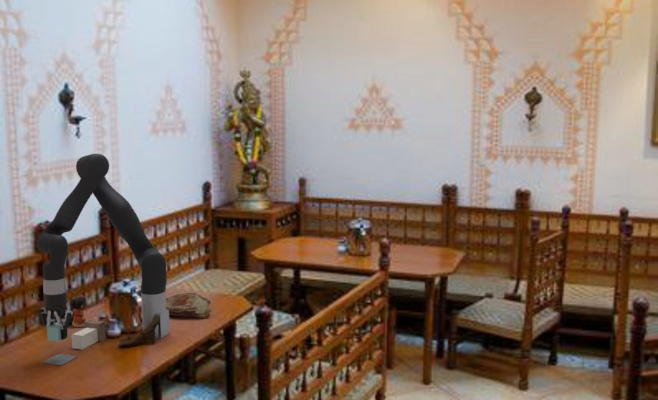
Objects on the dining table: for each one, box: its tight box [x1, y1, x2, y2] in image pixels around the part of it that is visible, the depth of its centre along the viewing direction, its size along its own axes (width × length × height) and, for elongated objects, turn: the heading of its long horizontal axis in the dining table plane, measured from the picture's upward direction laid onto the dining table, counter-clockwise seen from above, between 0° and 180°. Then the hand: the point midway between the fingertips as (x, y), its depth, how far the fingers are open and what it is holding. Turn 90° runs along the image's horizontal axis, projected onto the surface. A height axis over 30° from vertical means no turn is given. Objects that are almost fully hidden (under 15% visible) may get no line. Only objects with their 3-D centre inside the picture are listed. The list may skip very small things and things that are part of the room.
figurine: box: [69, 295, 87, 328], centre depth 287 cm, size 6×6×12 cm
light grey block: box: [70, 319, 107, 350], centre depth 268 cm, size 7×12×7 cm, turn 161°
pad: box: [42, 353, 78, 366], centre depth 252 cm, size 8×8×1 cm
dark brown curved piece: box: [117, 316, 160, 348], centre depth 267 cm, size 8×10×15 cm
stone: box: [166, 292, 211, 319], centre depth 303 cm, size 24×18×6 cm
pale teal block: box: [46, 322, 69, 343], centre depth 250 cm, size 4×5×5 cm
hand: (57, 337), depth 251 cm, fingers closed on pale teal block, 4 cm apart
